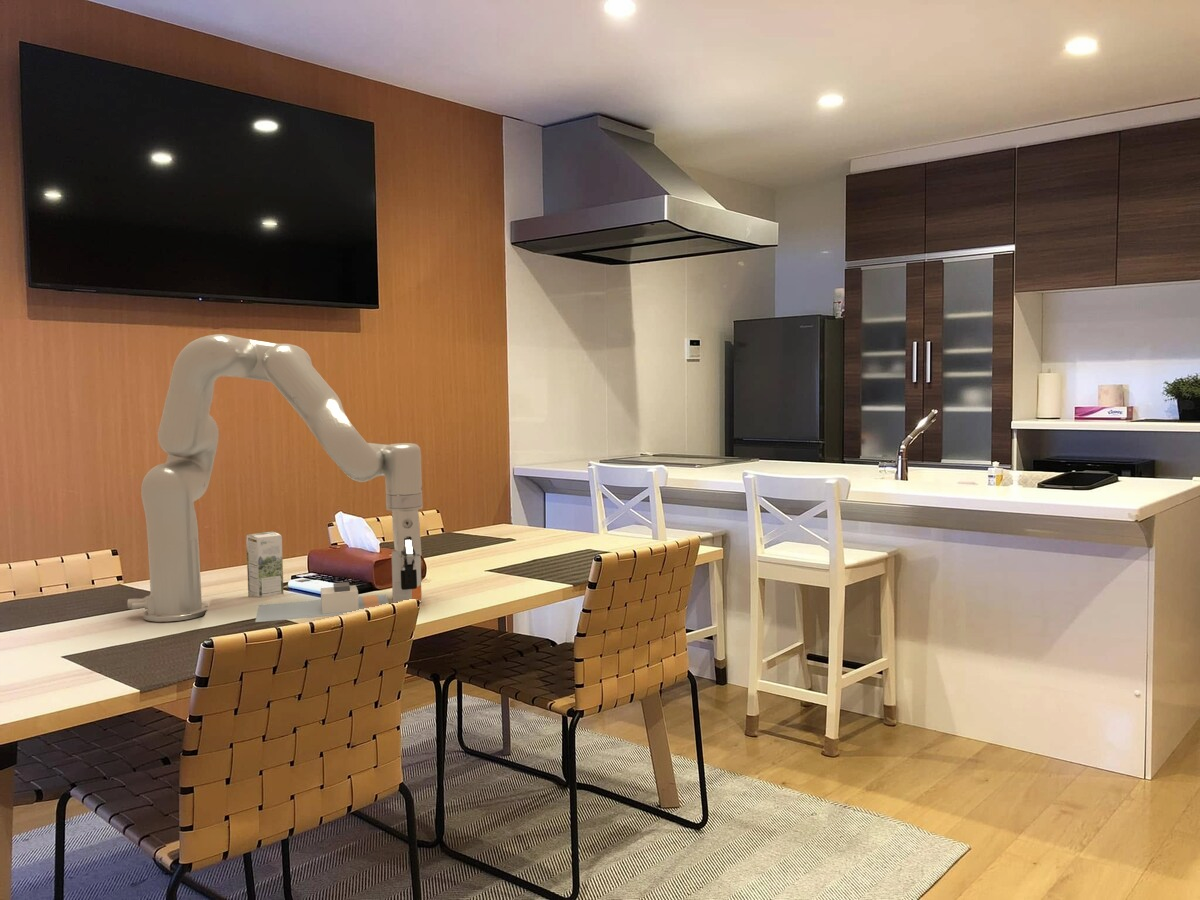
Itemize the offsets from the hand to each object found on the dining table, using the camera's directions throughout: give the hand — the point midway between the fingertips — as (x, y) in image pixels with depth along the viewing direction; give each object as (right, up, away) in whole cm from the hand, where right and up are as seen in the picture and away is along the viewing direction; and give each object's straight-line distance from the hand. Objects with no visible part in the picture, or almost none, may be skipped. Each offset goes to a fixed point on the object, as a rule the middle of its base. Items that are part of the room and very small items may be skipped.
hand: (407, 584), depth 196 cm
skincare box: (0, -4, 0) cm, 5 cm away
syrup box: (-33, -5, +9) cm, 34 cm away
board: (-16, -5, -6) cm, 18 cm away
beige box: (-12, -4, -7) cm, 15 cm away
